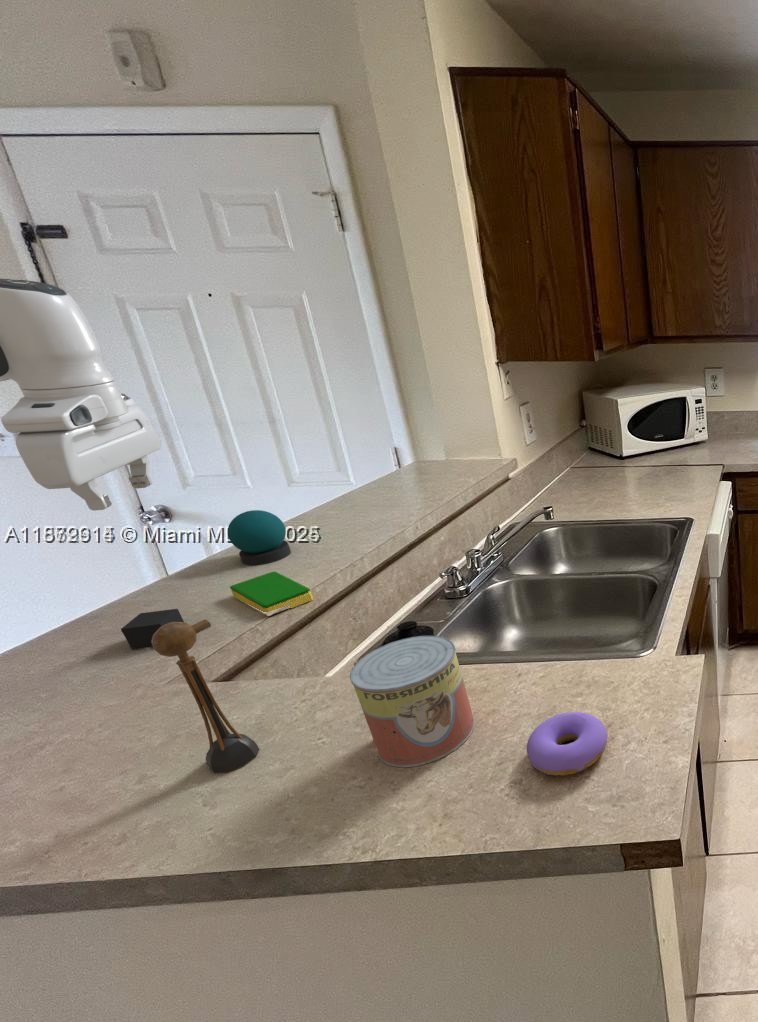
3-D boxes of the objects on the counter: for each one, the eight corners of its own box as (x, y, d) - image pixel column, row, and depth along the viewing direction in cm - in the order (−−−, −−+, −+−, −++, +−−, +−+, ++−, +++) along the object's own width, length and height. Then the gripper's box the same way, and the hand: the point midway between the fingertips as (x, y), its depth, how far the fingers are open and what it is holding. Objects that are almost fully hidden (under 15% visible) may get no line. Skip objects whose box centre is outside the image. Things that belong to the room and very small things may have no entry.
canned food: (392, 782, 74) (363, 703, 69) (367, 735, 81) (339, 661, 76) (488, 734, 81) (468, 660, 76) (457, 695, 88) (437, 625, 83)
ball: (230, 568, 123) (210, 522, 119) (251, 550, 131) (233, 506, 127) (283, 563, 126) (265, 517, 121) (301, 545, 133) (285, 501, 129)
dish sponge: (268, 617, 107) (263, 605, 106) (233, 597, 113) (228, 585, 112) (314, 600, 112) (310, 588, 111) (278, 581, 119) (274, 570, 118)
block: (131, 650, 98) (120, 629, 96) (151, 633, 102) (140, 613, 100) (170, 644, 99) (159, 624, 98) (187, 628, 104) (177, 608, 102)
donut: (626, 738, 80) (616, 714, 77) (577, 798, 74) (564, 775, 71) (569, 714, 84) (558, 691, 81) (518, 770, 78) (504, 746, 75)
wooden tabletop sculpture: (247, 736, 80) (185, 606, 72) (276, 742, 80) (216, 610, 71) (199, 770, 75) (125, 633, 67) (229, 776, 74) (159, 638, 66)
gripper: (101, 391, 93) (141, 477, 99) (-12, 423, 76) (44, 525, 81) (153, 389, 95) (188, 473, 101) (54, 420, 78) (104, 520, 83)
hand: (123, 497), depth 91 cm, fingers open, 8 cm apart
